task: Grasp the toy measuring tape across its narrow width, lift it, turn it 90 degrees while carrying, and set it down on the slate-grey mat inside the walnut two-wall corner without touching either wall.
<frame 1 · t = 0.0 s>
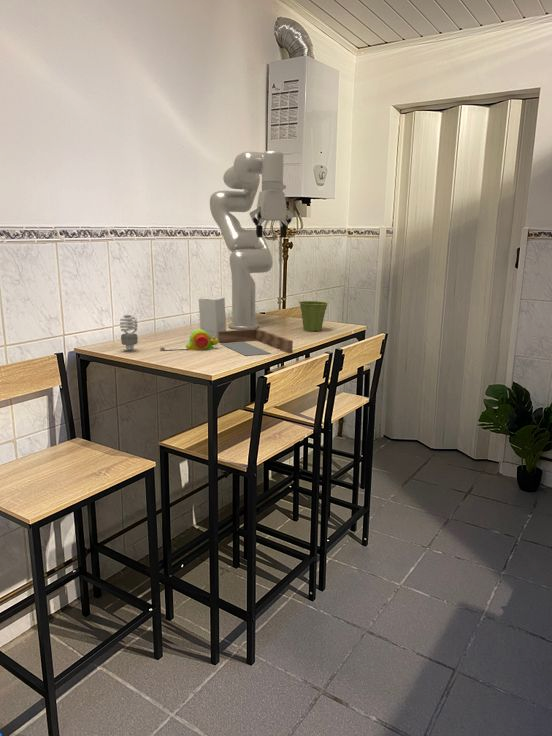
hand: (271, 237, 209), 37 cm above the table, tool pointing down, fingers open, 9 cm apart
skincare box: (212, 337, 216), on the table
toy measuring tape: (189, 350, 194), on the table
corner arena: (257, 339, 212), on the table
plant pot: (312, 330, 234), on the table
light bulb: (129, 351, 190), on the table
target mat: (244, 348, 196), on the table
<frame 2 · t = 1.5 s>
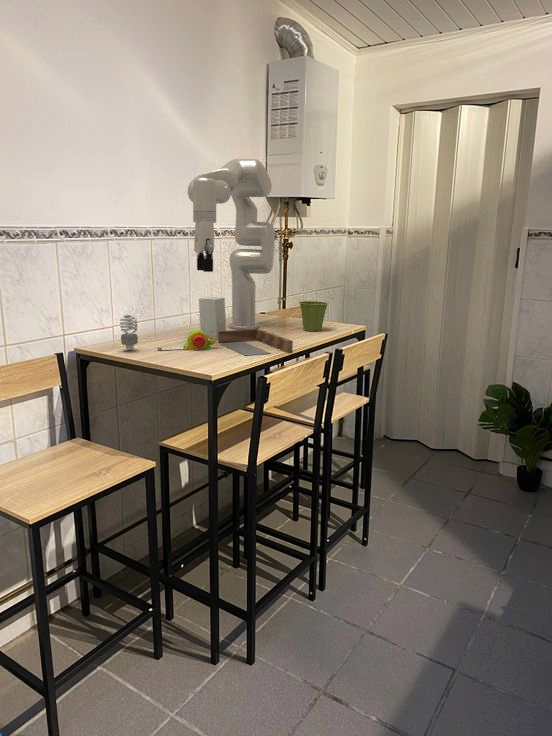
hand: (204, 270, 192), 26 cm above the table, tool pointing down, fingers open, 9 cm apart
nothing on the table moved.
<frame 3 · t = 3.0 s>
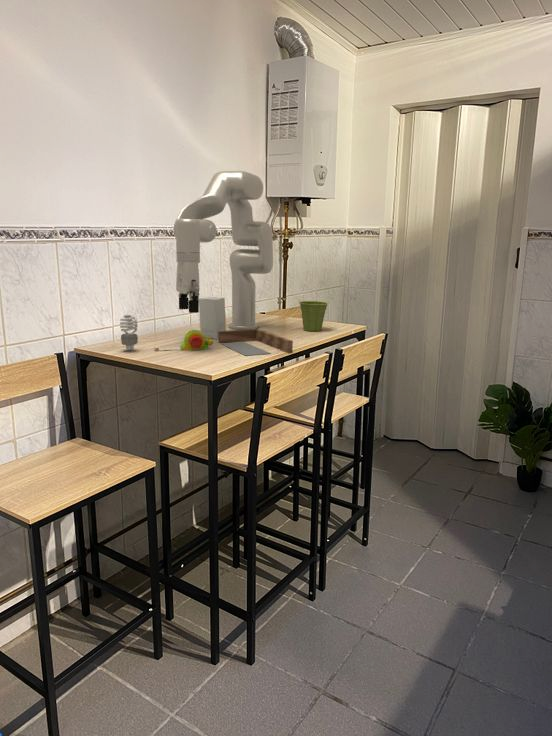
hand: (188, 310, 191), 13 cm above the table, tool pointing down, fingers open, 9 cm apart
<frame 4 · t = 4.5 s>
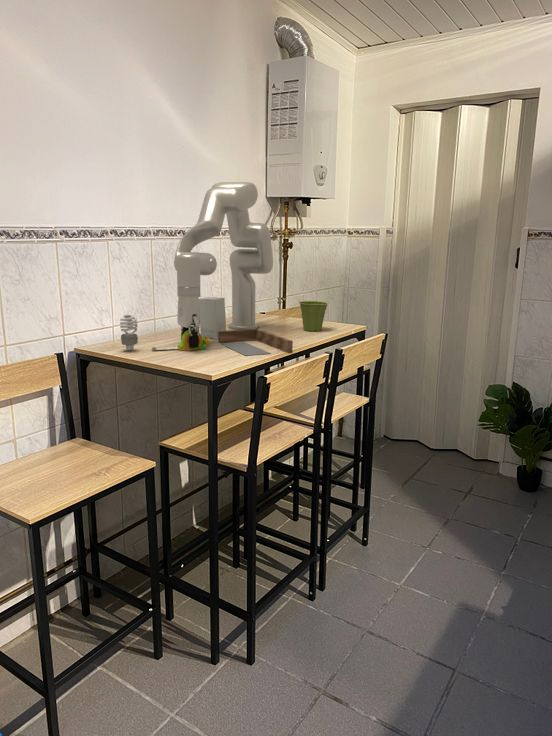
hand: (189, 345, 194), 1 cm above the table, tool pointing down, fingers closed on toy measuring tape, 6 cm apart
toy measuring tape: (181, 350, 193), on the table, touching gripper
everything else where it was.
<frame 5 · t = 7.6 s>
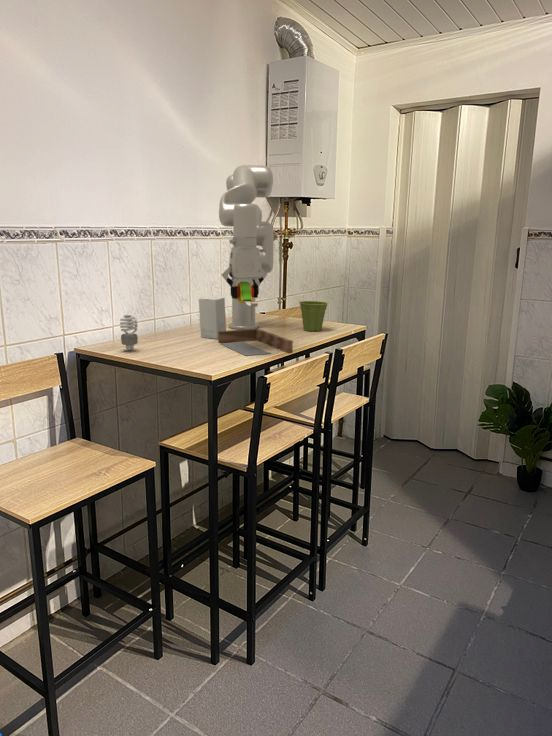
hand: (244, 297, 192), 17 cm above the table, tool pointing down, fingers closed on toy measuring tape, 6 cm apart
toy measuring tape: (246, 303, 189), point 16 cm above the table, touching gripper
everything else where it was.
when the fingers open (3 cm above the table, at t = 10.9 s): toy measuring tape drops 1 cm, resting on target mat.
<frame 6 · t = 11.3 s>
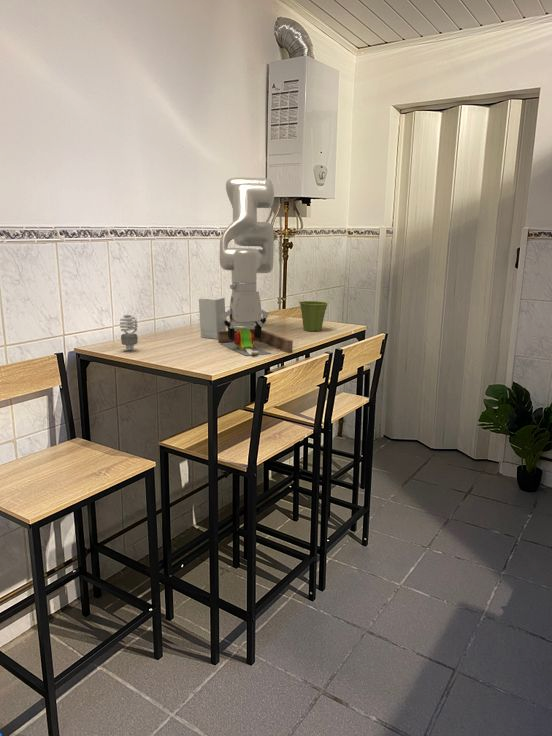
hand: (244, 338, 195), 4 cm above the table, tool pointing down, fingers open, 9 cm apart
toy measuring tape: (246, 350, 193), resting on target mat
everything else where it was.
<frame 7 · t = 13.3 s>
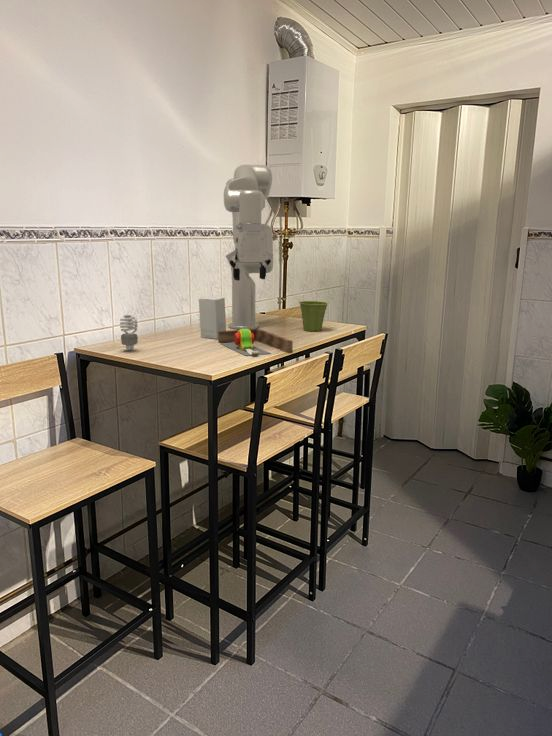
hand: (249, 279, 200), 23 cm above the table, tool pointing down, fingers open, 9 cm apart
nothing on the table moved.
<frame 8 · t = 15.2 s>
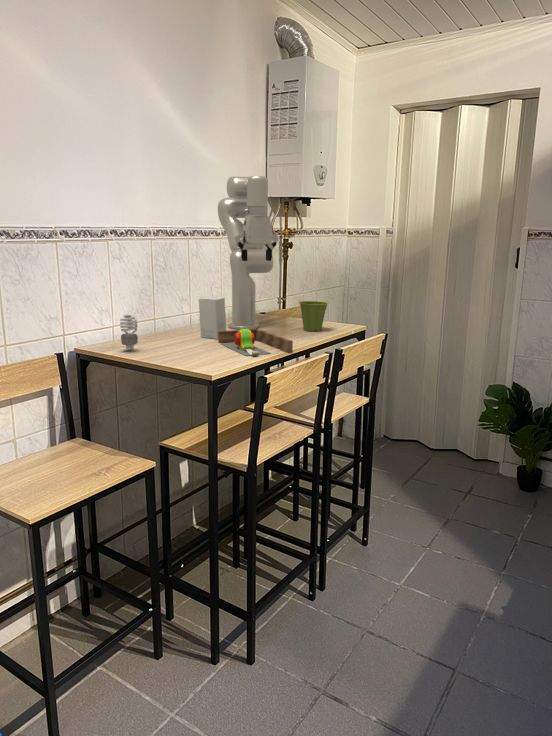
hand: (256, 260, 211), 28 cm above the table, tool pointing down, fingers open, 9 cm apart
nothing on the table moved.
at the end: toy measuring tape inside the target area (3.3 cm from its centre), resting on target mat; toy measuring tape touching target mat; the gripper is holding nothing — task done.
